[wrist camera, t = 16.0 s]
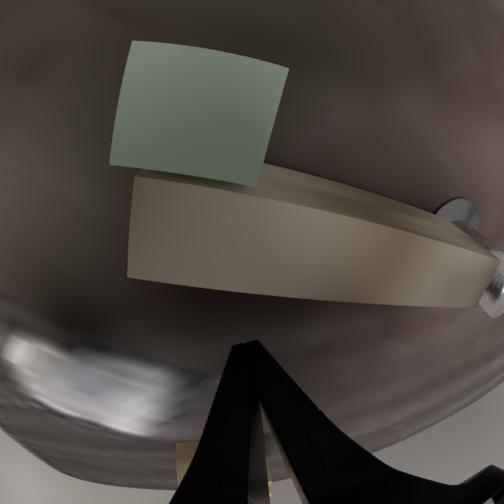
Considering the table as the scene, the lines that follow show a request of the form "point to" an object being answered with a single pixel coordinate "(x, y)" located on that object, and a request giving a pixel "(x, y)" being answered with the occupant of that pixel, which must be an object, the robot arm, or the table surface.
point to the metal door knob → (467, 219)
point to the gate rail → (300, 241)
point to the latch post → (196, 112)
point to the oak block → (185, 457)
